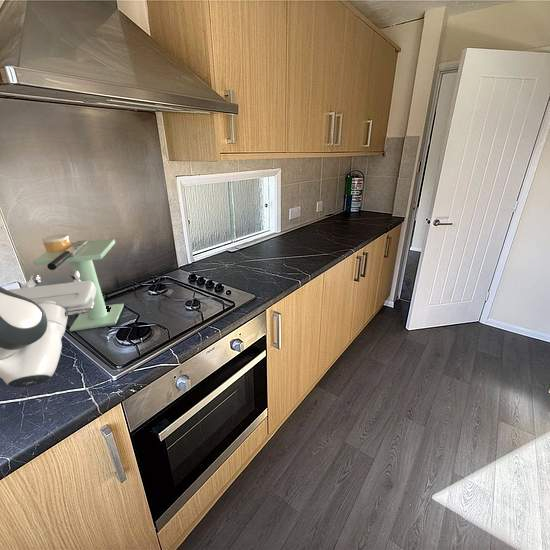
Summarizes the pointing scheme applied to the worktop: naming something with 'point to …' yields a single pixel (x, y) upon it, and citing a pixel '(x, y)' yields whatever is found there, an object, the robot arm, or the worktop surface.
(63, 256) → the cake knife
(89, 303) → the robot arm
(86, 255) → the cake stand
